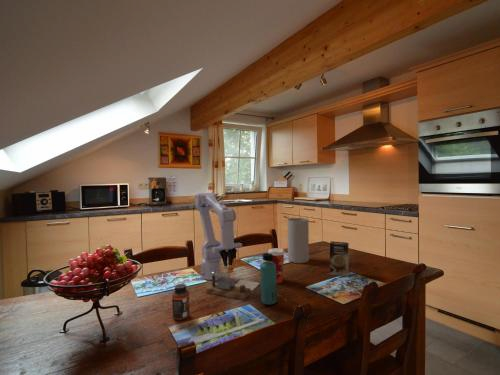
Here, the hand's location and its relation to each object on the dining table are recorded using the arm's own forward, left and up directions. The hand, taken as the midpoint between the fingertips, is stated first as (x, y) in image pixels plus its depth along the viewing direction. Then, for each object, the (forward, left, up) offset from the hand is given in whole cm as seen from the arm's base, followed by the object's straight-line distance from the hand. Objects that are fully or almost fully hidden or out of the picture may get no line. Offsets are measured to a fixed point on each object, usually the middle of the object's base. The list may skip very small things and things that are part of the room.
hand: (227, 265), depth 118 cm
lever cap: (+2, -4, -8) cm, 10 cm away
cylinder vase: (+20, +52, -11) cm, 56 cm away
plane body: (+3, -4, -10) cm, 12 cm away
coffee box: (+45, +38, -11) cm, 59 cm away
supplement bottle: (-3, -28, -11) cm, 31 cm away
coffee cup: (+18, +17, -11) cm, 26 cm away
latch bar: (-2, -5, -4) cm, 6 cm away
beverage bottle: (+23, -7, -11) cm, 26 cm away
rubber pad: (+7, +6, -10) cm, 13 cm away
